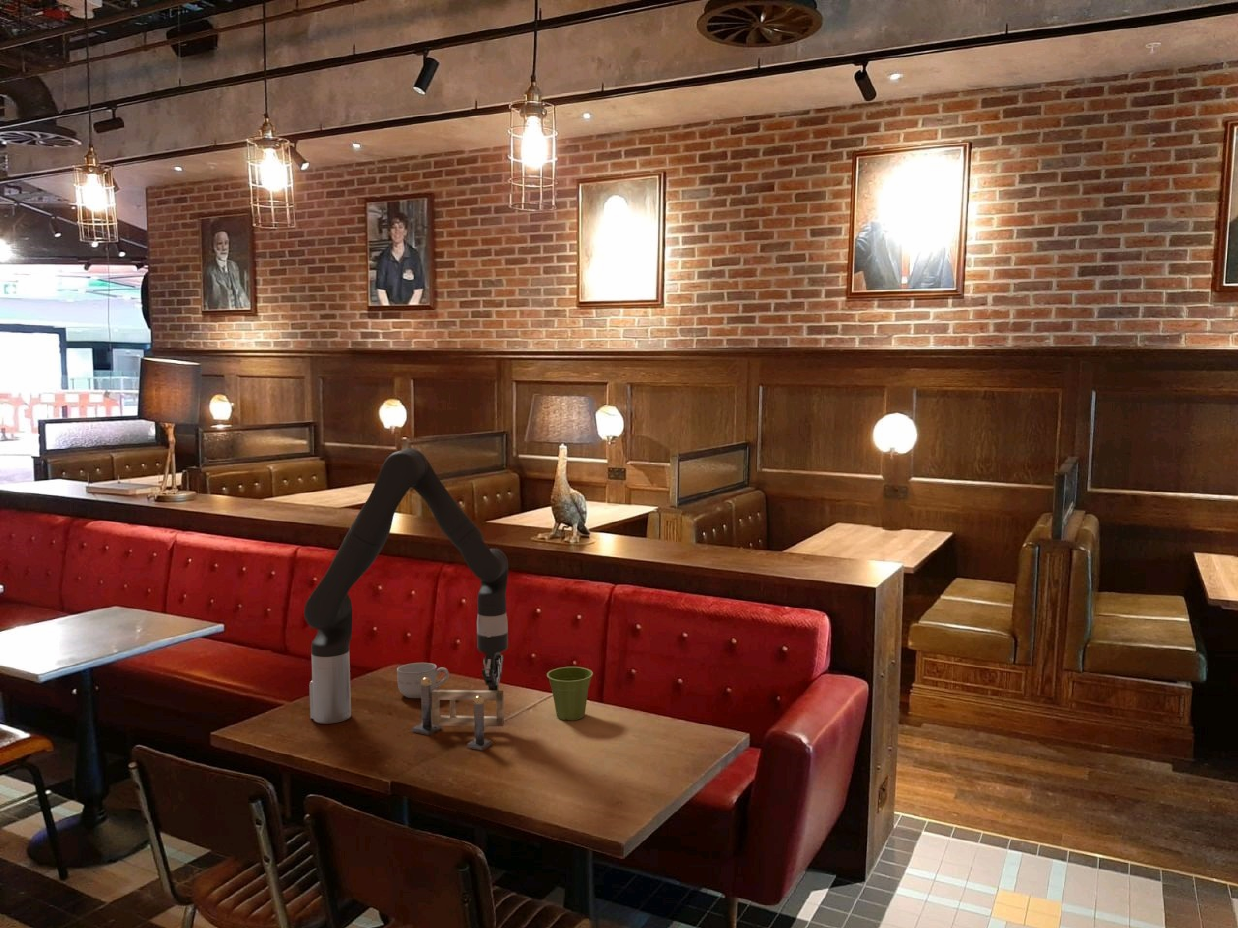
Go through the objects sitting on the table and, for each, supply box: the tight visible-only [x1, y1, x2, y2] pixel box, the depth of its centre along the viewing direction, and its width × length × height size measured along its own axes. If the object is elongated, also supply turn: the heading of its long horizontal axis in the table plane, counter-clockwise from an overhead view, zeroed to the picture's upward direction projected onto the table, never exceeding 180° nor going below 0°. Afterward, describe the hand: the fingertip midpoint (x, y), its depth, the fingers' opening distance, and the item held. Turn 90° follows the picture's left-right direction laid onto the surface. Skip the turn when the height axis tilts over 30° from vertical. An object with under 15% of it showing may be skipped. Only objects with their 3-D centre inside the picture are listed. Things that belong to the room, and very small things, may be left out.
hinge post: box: [411, 677, 442, 736], centre depth 227 cm, size 5×5×13 cm
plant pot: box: [546, 666, 594, 721], centre depth 236 cm, size 12×12×11 cm
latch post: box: [467, 696, 492, 751], centre depth 217 cm, size 4×4×12 cm
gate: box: [431, 689, 505, 727], centre depth 226 cm, size 17×2×8 cm, turn 87°
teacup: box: [396, 662, 450, 699], centre depth 252 cm, size 14×11×8 cm
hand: (493, 698), depth 229 cm, fingers closed
